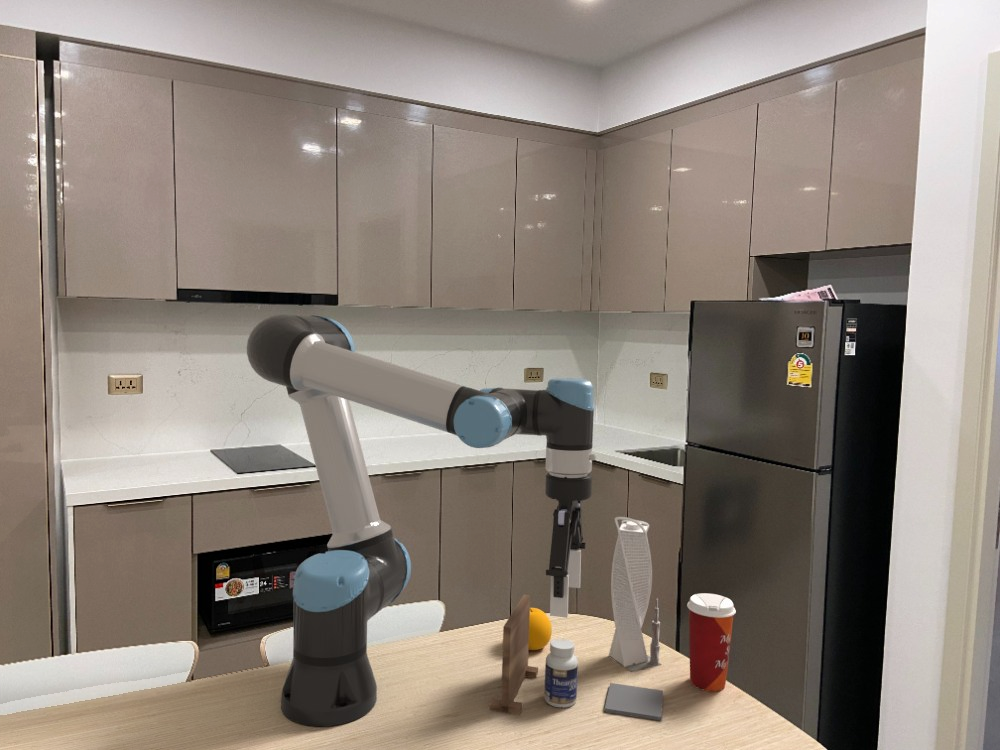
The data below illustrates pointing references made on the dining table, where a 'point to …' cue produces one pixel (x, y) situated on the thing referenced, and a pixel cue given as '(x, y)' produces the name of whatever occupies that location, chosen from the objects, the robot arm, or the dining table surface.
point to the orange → (538, 629)
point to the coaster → (634, 701)
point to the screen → (515, 658)
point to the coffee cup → (709, 640)
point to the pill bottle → (561, 674)
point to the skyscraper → (632, 597)
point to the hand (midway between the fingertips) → (565, 600)
